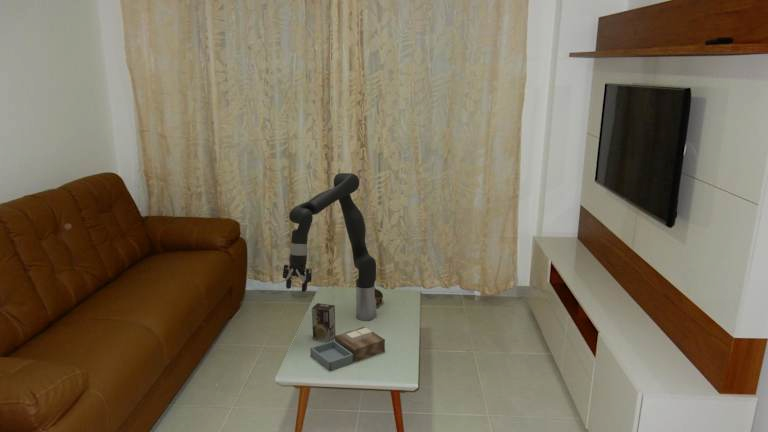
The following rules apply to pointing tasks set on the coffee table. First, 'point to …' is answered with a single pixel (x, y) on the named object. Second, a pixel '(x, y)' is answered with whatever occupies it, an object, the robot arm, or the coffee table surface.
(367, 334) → the rear tile
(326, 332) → the coffee box
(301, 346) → the coffee table surface
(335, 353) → the box
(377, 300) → the decorative turtle
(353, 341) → the front tile
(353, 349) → the block
